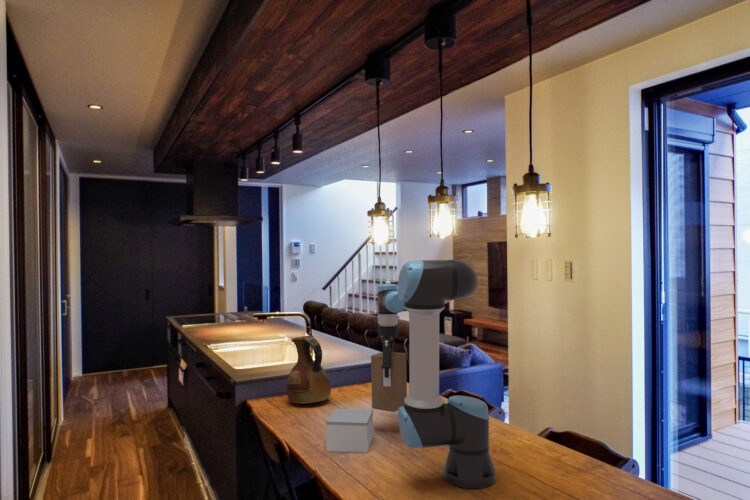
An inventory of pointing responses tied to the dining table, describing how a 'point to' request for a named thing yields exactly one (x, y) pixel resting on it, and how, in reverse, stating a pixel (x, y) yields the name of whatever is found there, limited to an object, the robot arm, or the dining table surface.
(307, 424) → the dining table surface
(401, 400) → the wooden block
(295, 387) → the ceramic pitcher
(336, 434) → the base brick
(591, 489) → the dining table surface
